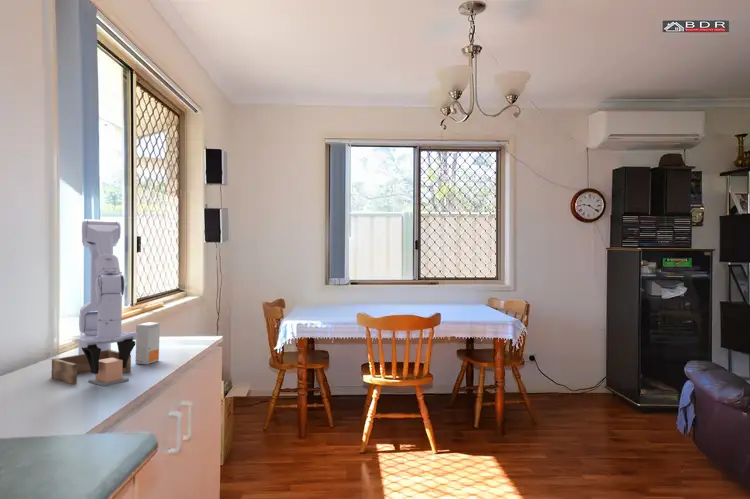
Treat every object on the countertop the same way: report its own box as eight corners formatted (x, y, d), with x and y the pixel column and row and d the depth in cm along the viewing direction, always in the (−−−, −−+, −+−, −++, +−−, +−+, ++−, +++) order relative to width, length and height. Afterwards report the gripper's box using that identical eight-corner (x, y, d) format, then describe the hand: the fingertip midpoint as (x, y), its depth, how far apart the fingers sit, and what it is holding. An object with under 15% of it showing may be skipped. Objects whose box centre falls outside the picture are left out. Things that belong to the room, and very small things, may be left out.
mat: (88, 381, 137) (88, 379, 137) (114, 376, 143) (114, 374, 143) (103, 386, 133) (103, 383, 133) (128, 380, 139) (128, 378, 139)
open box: (51, 377, 140) (51, 359, 140) (108, 366, 154) (109, 349, 154) (72, 384, 134) (73, 365, 134) (130, 371, 148) (130, 354, 148)
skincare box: (147, 364, 157) (148, 325, 156) (135, 364, 157) (135, 324, 157) (159, 360, 163) (160, 322, 162) (147, 359, 163) (148, 321, 163)
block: (95, 379, 137) (95, 360, 137) (111, 375, 141) (112, 357, 141) (105, 382, 135) (106, 363, 134) (122, 378, 138) (122, 360, 138)
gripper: (90, 324, 129) (89, 378, 129) (143, 317, 142) (142, 367, 142) (75, 321, 133) (74, 374, 133) (128, 315, 145) (127, 363, 145)
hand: (109, 370), depth 138 cm, fingers open, 7 cm apart
